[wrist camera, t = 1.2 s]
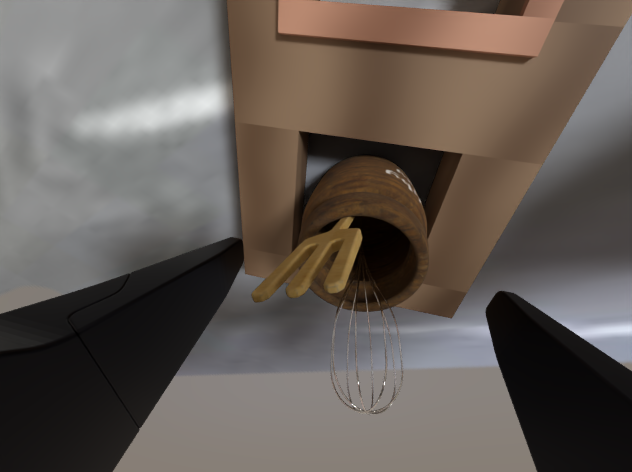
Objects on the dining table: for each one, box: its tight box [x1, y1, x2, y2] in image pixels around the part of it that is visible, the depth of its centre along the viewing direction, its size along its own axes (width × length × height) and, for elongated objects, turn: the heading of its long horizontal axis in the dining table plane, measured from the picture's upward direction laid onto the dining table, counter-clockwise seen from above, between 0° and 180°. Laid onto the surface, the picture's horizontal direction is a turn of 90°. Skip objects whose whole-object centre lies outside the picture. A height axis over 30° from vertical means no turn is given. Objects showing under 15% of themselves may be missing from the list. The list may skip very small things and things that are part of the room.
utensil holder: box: [252, 155, 429, 415], centre depth 10 cm, size 6×6×12 cm
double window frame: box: [227, 0, 632, 318], centre depth 11 cm, size 14×24×3 cm, turn 174°
